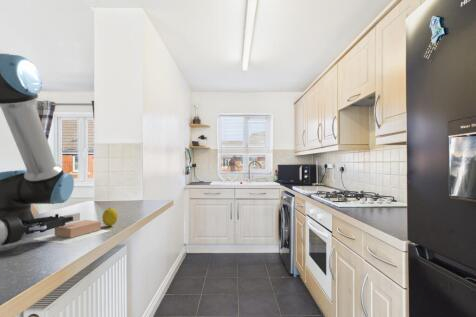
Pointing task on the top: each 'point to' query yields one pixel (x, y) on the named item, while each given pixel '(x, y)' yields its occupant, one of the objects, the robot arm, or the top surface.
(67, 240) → the mat
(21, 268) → the top surface
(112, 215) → the lemon
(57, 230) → the block
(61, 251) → the top surface
